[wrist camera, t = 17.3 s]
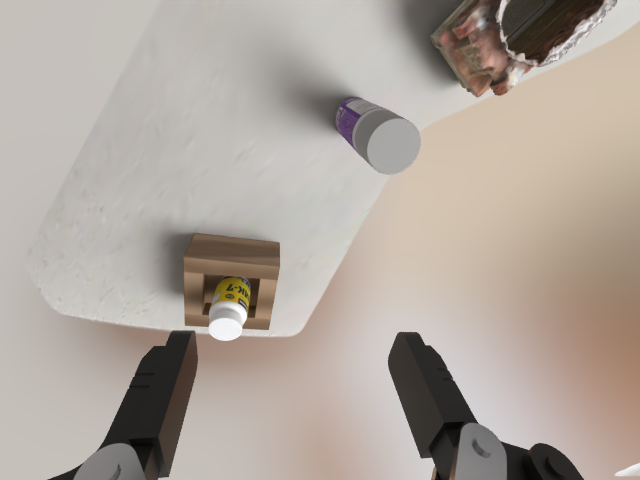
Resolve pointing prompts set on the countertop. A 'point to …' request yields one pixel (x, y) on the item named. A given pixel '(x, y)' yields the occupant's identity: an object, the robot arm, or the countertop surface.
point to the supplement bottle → (229, 307)
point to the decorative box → (512, 38)
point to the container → (378, 135)
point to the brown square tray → (230, 260)
